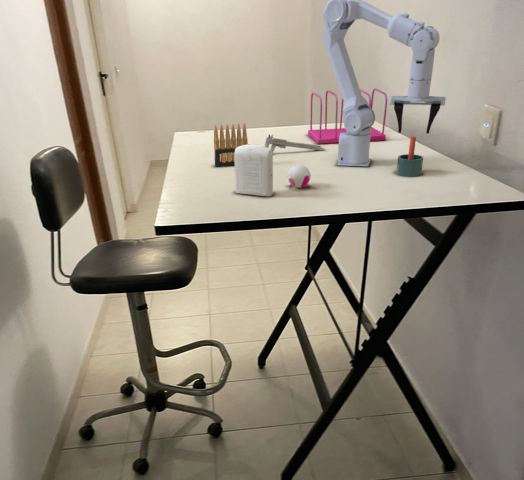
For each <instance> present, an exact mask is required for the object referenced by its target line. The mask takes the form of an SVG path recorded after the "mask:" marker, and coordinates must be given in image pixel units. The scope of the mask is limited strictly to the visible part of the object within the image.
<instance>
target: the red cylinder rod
mask: <svg viewBox="0 0 524 480" xmlns="http://www.w3.org/2000/svg"><path fill="white" fill-rule="evenodd" d="M416 141H417V136H415V135H412V136H410V138H409V147H408V153H407V154H408V160H413V158H414V155H415V149H416Z"/></svg>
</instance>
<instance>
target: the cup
mask: <svg viewBox="0 0 524 480" xmlns="http://www.w3.org/2000/svg"><path fill="white" fill-rule="evenodd" d="M408 154H409V153H407V154H406V153H405V154H400V155H398V156H397V163H396V174H397V175H399V176H402V177H418V176H421V175H422V173H423V172H422V171H423V164H424V156H422V155H419V154H414V158H413V160H408Z"/></svg>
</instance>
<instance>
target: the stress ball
mask: <svg viewBox="0 0 524 480" xmlns="http://www.w3.org/2000/svg"><path fill="white" fill-rule="evenodd" d="M287 180H288V183H289V187H291V186H292V187H294V188H296V189H302V188H310V186H309V185H308V184H309V183H310V181H311V171H310V169H309V168H308V167H307V166H306V165H304V164H295V165H293V166H292V167H290V169H289V170H288V173H287Z"/></svg>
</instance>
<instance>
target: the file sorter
mask: <svg viewBox="0 0 524 480" xmlns="http://www.w3.org/2000/svg"><path fill="white" fill-rule="evenodd" d="M376 91H377V92H378V93H381V94H382V95H384V100H385V102H384V112H383V121H382V129H381V130H382V131H379V130H378V129H376V128H375V127H372V126H371V128H370V129H371V137H370V142H372V141H373V142H374V141H386V140H387V134H385V127H386V117H387V108H388V95H387V93H386V92H385V91H383V90H380V89H379V88H377V87H375V88H373V89H372V92H371V94H370V93H369V92H367V91H366V90H363V89H361V88H360V92H361V93H363V94H365V95H366V96H368V105H369V107H370V108H371V109H372V110H373V104H374V95H375V92H376ZM328 94H331V95H333V96H334V97H335V124H334V125H335V127H334V128H328V127H327V125H328V121H327V120H328ZM314 96H315V97H318V98H319V102H320V106H319V107H320V108H319V129H313V99H314V98H313V97H314ZM338 104H339V99H338V95H337V93H335V92H333V91H331V90H329V89H327V90H326V91H325V106H324V107H325V110H324V111H325V112H324V128H322V125H323V124H322V123H323V99H322V96H321V95H319V94H318V93H316V92H314V91H313V92H311V94H310V121H309V128H310V129H308V130H307V135H308V136H309V137H310V138H311V139H312V140H313V141H314V142H315V143H317V145H320V144H321V145H322V144H336V143H339V136H340V133H347V130H346V129H345V127H342V125H343V107H344V101H343V98H342V97H341V107H340V121H339V128H338V113H339V112H338V109H339V105H338Z"/></svg>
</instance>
